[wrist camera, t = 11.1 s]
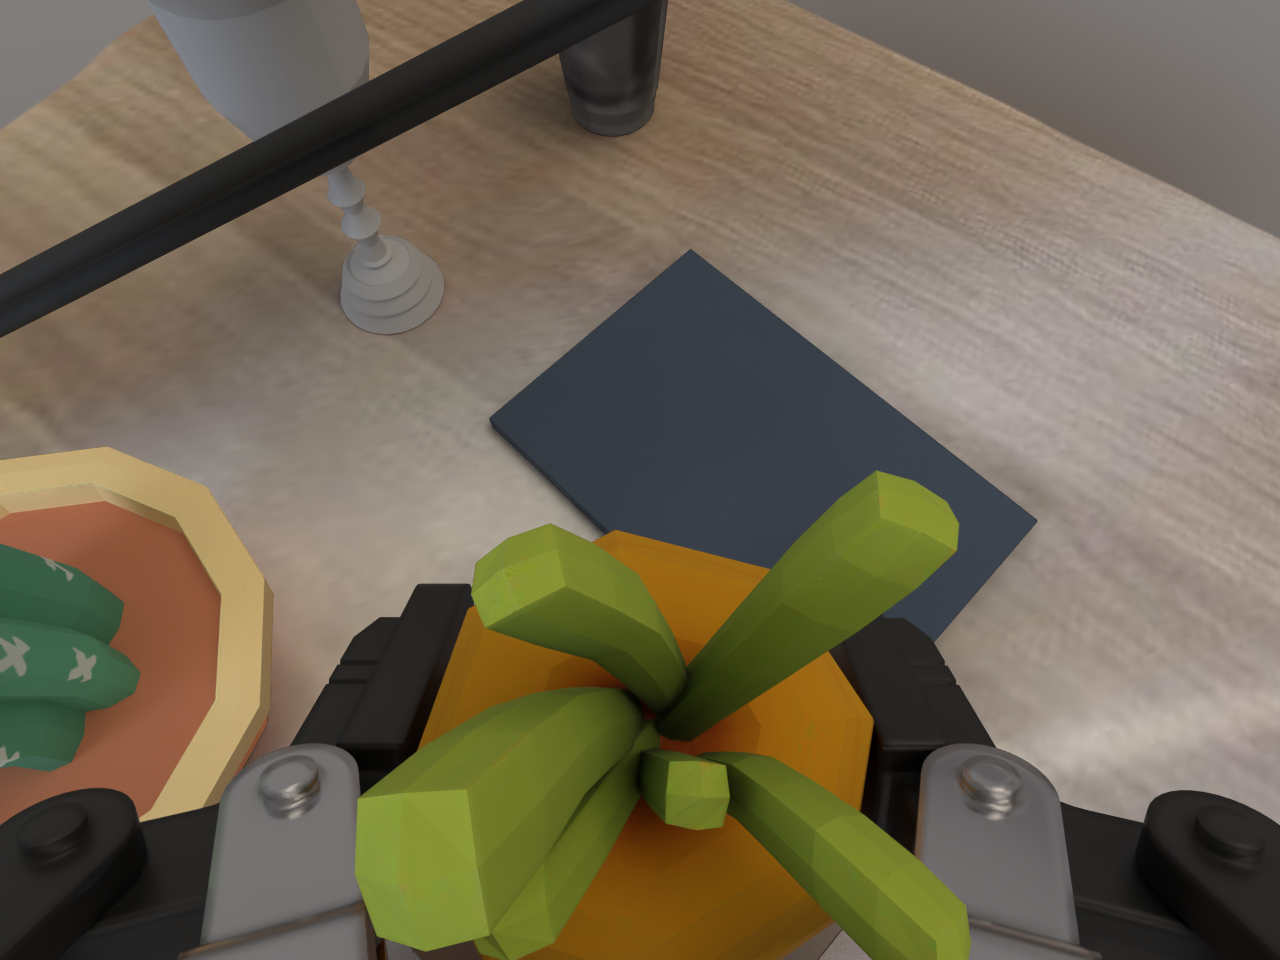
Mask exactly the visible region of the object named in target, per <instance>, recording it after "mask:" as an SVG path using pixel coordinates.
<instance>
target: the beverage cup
mask: <svg viewBox="0 0 1280 960" xmlns="http://www.w3.org/2000/svg"><path fill="white" fill-rule="evenodd" d="M667 5H668V0H660V1H658V2H656V3H654V4H652V5H651V6H649V7H647V8H645V9H643V10H641V11H639V12H637V13H635V14H633V15H631V16H629V17H627V18H625V19H623V20H621V21H620V22H618V23H616V24H614V25H612V26H610V27H608V28H606V29H604V30H602V31H600V32H598V33H596V34H594V35H592V36H591V37H589V38H587V39H585V40H583V41H581V42H579V43H577V44H575V45H573V46H571V47H569V48H567V49H565V50H563V51H562V52H560V53H559V56H560V61H561V66H562V71H563V76H564V81H565V85H566V88H567V91H568V94H569V97H570V101H571V108H572V111H573V114H574V117H575V119H576V120H577V121H578V122H579V124H580V125H581V126H582V127H584V128H586V129H587V130H589V131H591V132H593V133H597V134H600V135H604V136H619V135H624V134H629V133H632V132H634V131H636V130H638V129H640V128H641V127H642V126H643V125H644V124H646V123H647V122H648V121H649V119H650V117H651V115H652V113H653V111H654V101H655V96H656V90H657V88H658V82H659V73H660V65H661V56H662V47H663V39H664V30H665V22H666V13H667Z"/></svg>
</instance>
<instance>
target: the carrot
mask: <svg viewBox="0 0 1280 960" xmlns="http://www.w3.org/2000/svg"><path fill="white" fill-rule="evenodd" d="M958 532H959V522H958V521H957V519H956V517H955V515H954V513H953V512H952V510H951V508H950V506H949V505H948V503H947V501H945V500H944V499H942V498H940V497H939V496H937V495H936V494H934V493H933V492H931V491H930V490H928V489H927V488H925V487H923V486H922V485H920V484H919V483H917V482H916V481H913V480H909V479H906V478H902V477H899V476H895V475H891V474H888V473H884V472H880V471H877V470H876V471H875V472H874V473H872V474H871V475H869V476H868V477H867V478H865V479H864V480H863V481H861V482H860V483H859V484H857V485H856V486H855V487H853V488H852V489H851V490H849V491H848V492H847V493H845V494H844V495H843V496H841V497H840V498H839V499H838V500H837V501H836V502H835V503H834V504H833V505H832V506H831V507H830V508H829V509H828V510H827V511H826V512H825V513H824V514H823V515H822V516H821V517H820V518H819V519H818V520H817V521H816V522H815V523H814V524H813V525H812V526H811V527H810V528H809V529H808V530H807V531H805V532H804V533H803V534H802V535H801V536H800V537H799V538H798V539H797V540H796V541H795V542H794V543H793V545H792V546H791V547H790V548H789V549H788V550H787V551H786V553H785V554H784V555H783V556H782V557H781V558H780V559H779V561H778V562H777V563H776V564H775V565H774V566H773V567H772V569H768V568H764V567H760V566H756V565H752V564H748V563H744V562H740V561H736V560H732V559H728V558H724V557H720V556H717V555H713V554H709V553H705V552H701V551H697V550H693V549H689V548H685V547H681V546H677V545H673V544H669V543H666V542H662V541H658V540H654V539H650V538H646V537H642V536H638V535H634V534H630V533H626V532H622V531H618V530H614V531H612V532H610V533H608V534H606V535H604V536H603V537H601V538H599V539H597V540H595V541H593V542H590V541H587V540H585V539H583V538H581V537H579V536H577V535H574V534H572V533H570V532H568V531H566V530H564V529H562V528H559V527H557V526H555V525H553V524H551V523H550V524H547V525H544V526H541V527H539V528H536V529H533V530H530V531H527V532H524V533H521V534H518V535H516V536H513V537H510V538H507V539H506V540H505V541H503V542H502V543H501V544H500V545H498V546H497V547H496V548H494V549H493V550H492V551H491V552H489V553H488V554H487V555H485V556H484V557H483V558H482V559H480V560H479V561H478V562H476V566H475V572H474V579H473V585H472V592H471V596H472V598H473V600H474V603H475V606H473V607H471V608H469V609H468V611H467V613H466V616H465V619H464V622H463V624H462V627H461V630H460V633H459V635H458V638H457V641H456V644H455V647H454V649H453V652H452V655H451V658H450V661H449V663H448V666H447V669H446V672H445V675H444V677H443V680H442V683H441V686H440V688H439V691H438V694H437V697H436V700H435V702H434V705H433V708H432V711H431V714H430V716H429V719H428V722H427V725H426V728H425V730H424V733H423V736H422V739H421V742H420V744H419V747H418V750H417V752H416V753H414V754H413V755H412V756H411V757H409V758H408V759H407V760H406V761H404V762H403V763H402V764H401V765H399V766H398V767H397V768H395V769H394V770H393V771H392V772H390V773H389V774H388V775H387V776H385V777H384V778H383V779H382V780H380V781H379V782H378V783H377V784H375V785H374V786H373V787H372V788H370V789H369V790H368V791H367V792H365V793H364V794H363V795H362V796H360V797H359V798H358V801H357V826H356V850H355V877H356V879H357V882H358V885H359V888H360V891H361V893H362V896H363V899H364V902H365V904H366V907H367V910H368V913H369V916H370V918H371V921H372V924H373V927H374V930H375V932H376V935H377V936H378V937H381V938H384V939H387V940H391V941H394V942H397V943H400V944H403V945H406V946H410V947H413V948H416V949H419V950H422V951H425V952H426V951H430V950H434V949H438V948H442V947H446V946H450V945H454V944H458V943H461V942H465V941H469V940H472V942H473V944H474V946H475V949H476V951H477V953H478V956H479V958H480V960H781V959H783V958H784V957H785V956H787V955H788V954H790V953H791V952H793V951H794V950H796V949H797V948H798V947H800V946H801V945H803V944H804V943H806V942H807V941H809V940H810V939H812V938H813V937H814V936H816V935H817V934H819V933H820V932H822V931H823V930H825V929H826V928H828V927H829V926H830V925H832V924H833V923H835V922H836V923H837V924H838V925H839V926H840V927H841V928H842V929H843V930H844V931H845V932H846V933H847V934H848V935H849V936H850V937H851V938H852V939H853V940H854V941H855V942H856V943H857V945H858V946H859V947H860V948H861V949H862V950H863V951H864V952H865V953H866V954H867V955H868V956H869V957H870V958H871V959H872V960H969V954H970V948H971V938H970V930H969V923H968V916H967V908H966V905H965V904H964V903H963V902H962V901H961V900H960V899H959V898H958V897H957V896H956V895H955V894H954V893H953V892H952V891H951V890H950V889H949V888H948V887H947V886H946V885H945V884H944V883H943V882H942V881H940V880H939V879H938V878H937V877H936V876H935V875H934V874H933V873H932V872H931V871H930V870H929V869H928V868H927V867H926V866H925V865H924V864H923V863H922V862H921V861H920V860H919V859H918V858H916V857H915V856H914V855H913V854H911V853H910V852H909V851H908V850H907V849H905V848H904V847H903V846H902V845H900V844H899V843H898V842H897V841H896V840H894V839H893V838H892V837H891V836H889V835H888V834H887V833H886V832H884V831H883V830H882V829H881V828H880V827H878V826H877V825H876V824H875V823H873V822H872V821H871V820H870V819H869V818H867V817H866V816H865V815H864V814H862V813H861V812H860V811H861V804H862V798H863V791H864V784H865V778H866V771H867V765H868V758H869V751H870V745H871V738H872V732H873V725H874V720H873V718H872V716H871V715H870V713H869V712H868V710H867V709H866V707H865V706H864V704H863V703H862V701H861V700H860V698H859V697H858V695H857V694H856V692H855V691H854V689H853V688H852V686H851V684H850V683H849V681H848V680H847V678H846V677H845V675H844V674H843V672H842V671H841V669H840V668H839V666H838V665H837V663H836V662H835V660H834V659H833V657H832V656H831V654H830V653H829V650H830V649H832V648H834V647H835V646H837V645H838V644H840V643H841V642H843V641H844V640H846V639H847V638H849V637H850V636H852V635H853V634H855V633H856V632H858V631H859V630H861V629H862V628H863V627H865V626H866V625H867V624H869V623H870V622H872V621H873V620H874V619H876V618H877V617H878V616H880V615H881V614H883V613H884V612H885V611H887V610H888V609H889V608H891V607H892V606H893V605H895V604H896V603H898V602H899V601H900V600H902V599H903V598H904V597H906V596H907V595H909V594H910V593H911V592H913V591H914V590H915V589H917V588H918V587H919V586H920V585H921V584H922V583H923V582H924V581H925V580H926V579H927V578H928V577H930V576H931V575H932V574H933V573H934V572H935V571H936V570H937V569H938V568H939V567H940V566H941V565H942V564H943V563H944V562H946V561H947V560H948V559H949V558H950V557H951V556H952V555H953V554H954V553H955V552H956V551H957V544H958Z"/></svg>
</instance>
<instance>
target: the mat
mask: <svg viewBox="0 0 1280 960" xmlns="http://www.w3.org/2000/svg"><path fill="white" fill-rule="evenodd" d="M490 422H491V424H492V427H493V428H495V429H496V430H497V431H498V432H499V433H500V434H501V435H502V436H503V437H504V438H505V439H506V440H507V441H508V442H509V443H510V444H511V445H512V446H513V447H514V448H516V449H517V450H518V451H519V452H520V453H521V454H522V455H523V456H524V457H525V458H526V459H527V460H528V461H529V462H530V463H531V464H532V465H533V466H534V467H535V468H537V469H538V470H539V471H540V472H541V473H542V474H543V475H544V476H545V477H546V478H547V479H548V480H549V481H550V482H551V483H552V484H553V485H554V486H555V487H556V488H558V489H559V490H560V491H561V492H562V493H563V494H564V495H565V496H566V497H567V498H568V499H569V500H570V501H571V502H572V503H573V504H574V505H575V506H576V507H578V508H579V509H580V510H581V511H582V512H583V513H584V514H585V515H586V516H587V517H588V518H589V519H590V520H591V521H592V522H593V523H594V524H595V525H596V526H597V527H599V528H600V529H601V530H602V531H603V532H604V533H605V534H608V533H610V532H612V531H614V530H618V531H622V532H626V533H630V534H634V535H638V536H642V537H646V538H650V539H654V540H658V541H662V542H666V543H669V544H673V545H677V546H681V547H685V548H689V549H693V550H697V551H701V552H705V553H709V554H713V555H717V556H720V557H724V558H728V559H732V560H736V561H740V562H744V563H748V564H752V565H756V566H760V567H764V568H768V569H772V567H773V566H774V565H775V564H776V563H777V562H778V561H779V559H780V558H781V557H782V556H783V555H784V554H785V553H786V551H787V550H788V549H789V548H790V547H791V546H792V545H793V543H794V542H795V541H796V540H797V539H798V538H799V537H800V536H801V535H802V534H803V533H804V532H805V531H807V530H808V529H809V528H810V527H811V526H812V525H813V524H814V523H815V522H816V521H817V520H818V519H819V518H820V517H821V516H822V515H823V514H824V513H825V512H826V511H827V510H828V509H829V508H830V507H831V506H832V505H833V504H834V503H835V502H836V501H837V500H838V499H839V498H840V497H841V496H843V495H844V494H845V493H847V492H848V491H849V490H851V489H852V488H853V487H855V486H856V485H857V484H859V483H860V482H861V481H863V480H864V479H865V478H867V477H868V476H869V475H871V474H872V473H874V472H875V471H876V470H877V471H880V472H884V473H888V474H891V475H895V476H899V477H902V478H906V479H909V480H913V481H916V482H917V483H919V484H920V485H922V486H923V487H925V488H927V489H928V490H930V491H931V492H933V493H934V494H936V495H937V496H939V497H940V498H942V499H944V500H945V501H947V503H948V505H949V506H950V508H951V510H952V512H953V513H954V515H955V517H956V519H957V521H958V522H959V532H958V544H957V551H956V552H955V553H954V554H953V555H952V556H951V557H950V558H949V559H948V560H947V561H946V562H944V563H943V564H942V565H941V566H940V567H939V568H938V569H937V570H936V571H935V572H934V573H933V574H932V575H931V576H930V577H928V578H927V579H926V580H925V581H924V582H923V583H922V584H921V585H920V586H919V587H918V588H917V589H915V590H914V591H913V592H911V593H910V594H909V595H907V596H906V597H904V598H903V599H902V600H900V601H899V602H898V603H896V604H895V605H893V606H892V607H891V608H889V609H888V610H887V611H885V612H884V613H883V616H884V618H905V619H907V620H908V621H909V622H910V623H912V624H913V625H914V626H916V627H917V628H918V629H920V630H921V631H922V632H924V633H925V634H926V635H928V636H929V637H930V638H931V639H932V641H933V642H935V641H936V639H937V638H938V637H939V636H940V635H941V634H942V632H943V631H944V630H945V629H946V628H947V627H948V625H949V624H950V623H951V622H952V621H953V620H954V618H955V617H956V616H957V615H958V614H959V613H960V611H961V610H962V609H963V608H964V607H965V606H966V604H967V603H968V602H969V601H970V600H971V599H972V597H973V596H974V595H975V594H976V593H977V592H978V590H979V589H980V588H981V587H982V586H983V585H984V583H985V582H986V581H987V580H988V579H989V578H990V576H991V575H992V574H993V573H994V572H995V571H996V569H997V568H998V567H999V566H1000V565H1001V564H1002V562H1003V561H1004V560H1005V559H1006V558H1007V557H1008V555H1009V554H1010V553H1011V552H1012V551H1013V549H1014V548H1015V547H1016V546H1017V545H1018V544H1019V542H1020V541H1021V540H1022V539H1023V538H1024V537H1025V535H1026V534H1027V533H1028V532H1029V531H1030V530H1031V528H1032V527H1033V526H1034V525H1035V524H1036V523H1037V519H1035V518H1034V517H1033V516H1032V515H1030V514H1029V513H1028V512H1026V511H1025V510H1024V509H1023V508H1021V507H1020V506H1019V505H1018V504H1016V503H1015V502H1014V501H1012V500H1011V499H1010V498H1009V497H1007V496H1006V495H1005V494H1003V493H1002V492H1001V491H1000V490H998V489H997V488H996V487H995V486H993V485H992V484H991V483H989V482H988V481H987V480H986V479H984V478H983V477H982V476H980V475H979V474H978V473H977V472H975V471H974V470H973V469H971V468H970V467H969V466H968V465H966V464H965V463H964V462H963V461H961V460H960V459H959V458H957V457H956V456H955V455H954V454H952V453H951V452H950V451H948V450H947V449H946V448H945V447H943V446H942V445H941V444H940V443H938V442H937V441H936V440H934V439H933V438H932V437H931V436H929V435H928V434H927V433H925V432H924V431H923V430H922V429H920V428H919V427H918V426H916V425H915V424H914V423H913V422H911V421H910V420H909V419H908V418H906V417H905V416H904V415H902V414H901V413H900V412H899V411H897V410H896V409H895V408H893V407H892V406H891V405H890V404H888V403H887V402H886V401H885V400H883V399H882V398H881V397H879V396H878V395H877V394H876V393H874V392H873V391H872V390H870V389H869V388H868V387H867V386H865V385H864V384H863V383H862V382H860V381H859V380H858V379H856V378H855V377H854V376H853V375H851V374H850V373H849V372H847V371H846V370H845V369H844V368H842V367H841V366H840V365H838V364H837V363H836V362H835V361H833V360H832V359H831V358H830V357H828V356H827V355H826V354H824V353H823V352H822V351H821V350H819V349H818V348H817V347H815V346H814V345H813V344H812V343H810V342H809V341H808V340H807V339H805V338H804V337H803V336H801V335H800V334H799V333H798V332H796V331H795V330H794V329H792V328H791V327H790V326H789V325H787V324H786V323H785V322H783V321H782V320H781V319H780V318H778V317H777V316H776V315H775V314H773V313H772V312H771V311H769V310H768V309H767V308H766V307H764V306H763V305H762V304H760V303H759V302H758V301H757V300H755V299H754V298H753V297H752V296H750V295H749V294H748V293H746V292H745V291H744V290H743V289H741V288H740V287H739V286H737V285H736V284H735V283H734V282H732V281H731V280H730V279H728V278H727V277H726V276H725V275H723V274H722V273H721V272H720V271H718V270H717V269H716V268H714V267H713V266H712V265H711V264H709V263H708V262H707V261H705V260H704V259H703V258H702V257H700V256H699V255H698V254H697V253H695V252H694V251H693V250H691V249H690V250H689V251H688V252H686V253H685V254H684V255H683V256H682V257H680V258H679V259H678V260H677V261H676V262H674V263H673V264H672V265H671V266H670V267H668V268H667V269H666V270H665V271H664V272H663V273H661V274H660V275H659V276H658V277H657V278H655V279H654V280H653V281H652V282H651V283H649V284H648V285H647V286H646V287H645V288H644V289H642V290H641V291H640V292H639V293H638V294H636V295H635V296H634V297H633V298H632V299H630V300H629V301H628V302H627V303H626V304H624V305H623V306H622V307H621V308H620V309H619V310H617V311H616V312H615V313H614V314H613V315H611V316H610V317H609V318H608V319H607V320H605V321H604V322H603V323H602V324H601V325H599V326H598V327H597V328H596V329H595V330H594V331H592V332H591V333H590V334H589V335H588V336H586V337H585V338H584V339H583V340H582V341H580V342H579V343H578V344H577V345H576V346H575V347H573V348H572V349H571V350H570V351H569V352H567V353H566V354H565V355H564V356H563V357H561V358H560V359H559V360H558V361H557V362H555V363H554V364H553V365H552V366H551V367H550V368H548V369H547V370H546V371H545V372H544V373H542V374H541V375H540V376H539V377H538V378H536V379H535V380H534V381H533V382H532V383H530V384H529V385H528V386H527V387H526V388H525V389H523V390H522V391H521V392H520V393H519V394H517V395H516V396H515V397H514V398H513V399H511V400H510V401H509V402H508V403H507V404H505V405H504V406H503V407H502V408H501V409H500V410H498V411H497V412H496V413H495V414H494V415H492V416H491V417H490Z"/></svg>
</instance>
